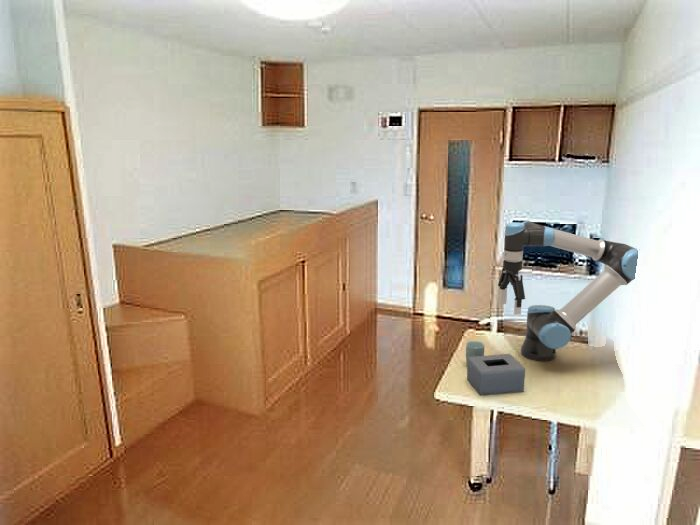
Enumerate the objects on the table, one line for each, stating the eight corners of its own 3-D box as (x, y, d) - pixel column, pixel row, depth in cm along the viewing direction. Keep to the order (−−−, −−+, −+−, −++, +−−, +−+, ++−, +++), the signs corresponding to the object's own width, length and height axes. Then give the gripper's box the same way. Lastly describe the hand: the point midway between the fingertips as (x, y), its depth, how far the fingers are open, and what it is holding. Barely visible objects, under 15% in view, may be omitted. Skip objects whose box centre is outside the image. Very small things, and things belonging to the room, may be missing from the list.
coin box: (507, 375, 216) (509, 353, 214) (523, 391, 203) (525, 368, 200) (466, 379, 214) (467, 357, 211) (480, 395, 200) (481, 372, 198)
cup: (483, 370, 222) (484, 348, 219) (465, 368, 223) (466, 347, 221) (483, 362, 229) (484, 341, 227) (465, 361, 231) (466, 340, 228)
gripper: (491, 253, 224) (489, 300, 229) (518, 268, 200) (514, 319, 205) (508, 253, 225) (505, 299, 230) (536, 267, 201) (532, 318, 206)
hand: (509, 308), depth 218 cm, fingers open, 13 cm apart
